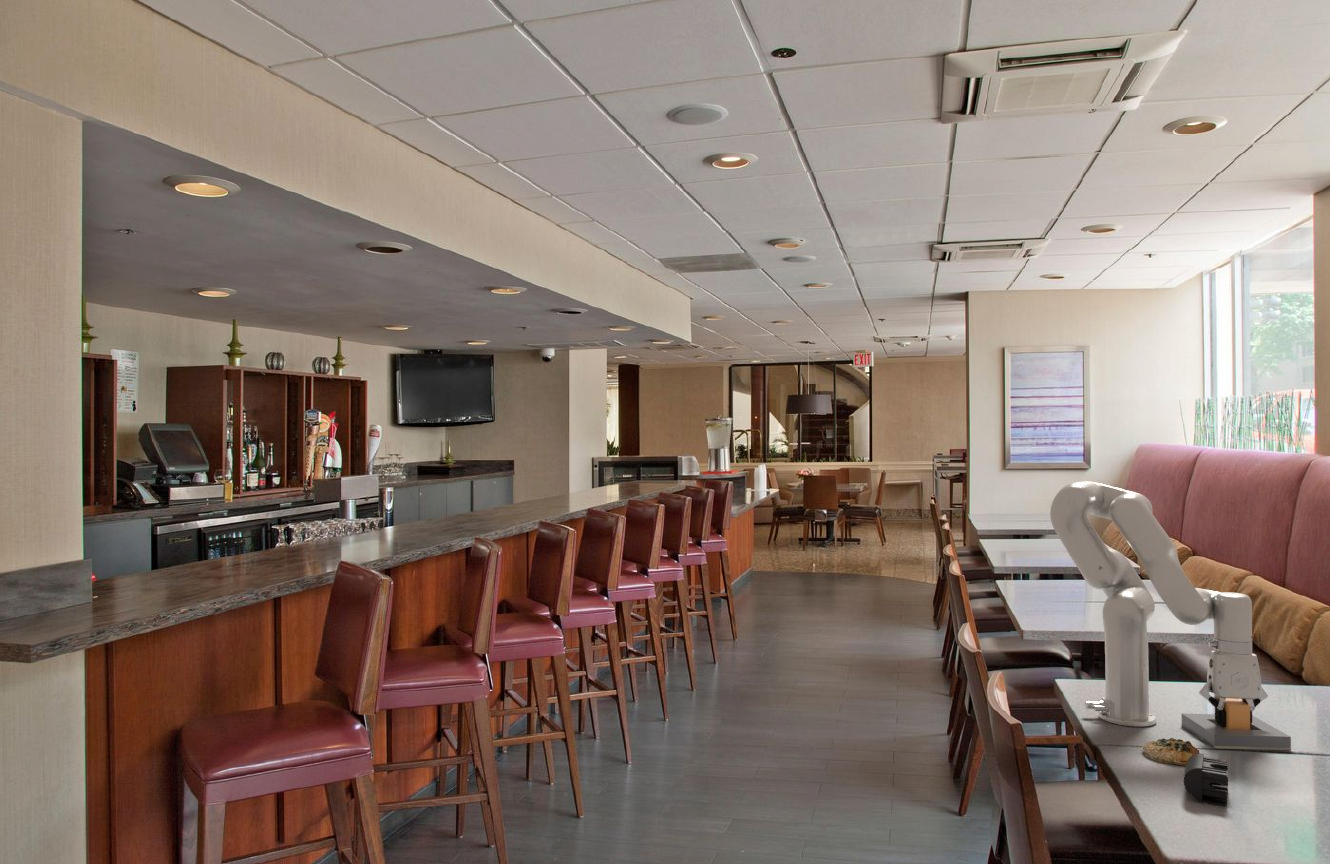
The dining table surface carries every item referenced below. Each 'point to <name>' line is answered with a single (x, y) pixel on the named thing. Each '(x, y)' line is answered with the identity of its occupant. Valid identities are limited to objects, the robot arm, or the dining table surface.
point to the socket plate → (1236, 734)
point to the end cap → (1207, 780)
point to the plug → (1237, 714)
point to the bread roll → (1170, 751)
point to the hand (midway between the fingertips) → (1233, 725)
